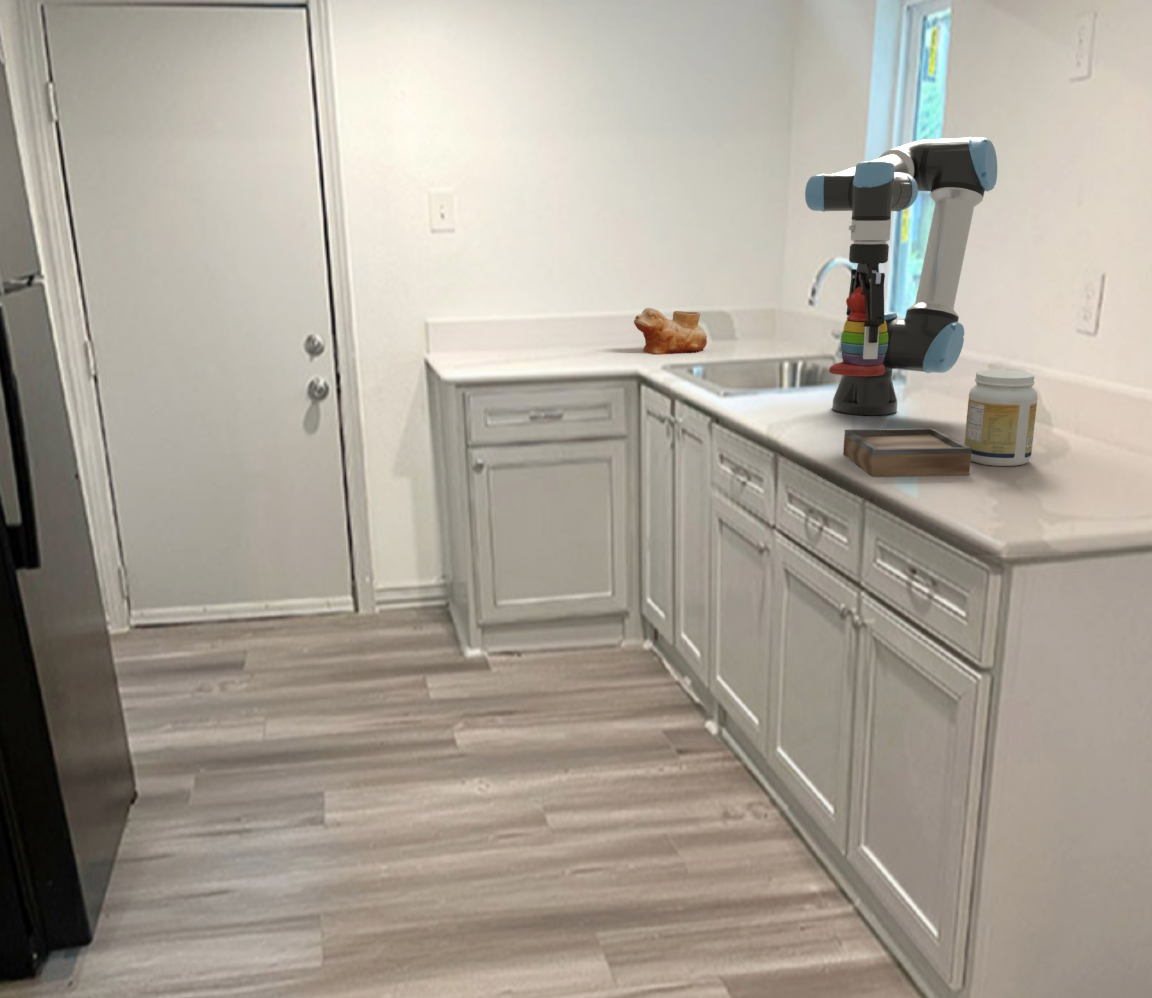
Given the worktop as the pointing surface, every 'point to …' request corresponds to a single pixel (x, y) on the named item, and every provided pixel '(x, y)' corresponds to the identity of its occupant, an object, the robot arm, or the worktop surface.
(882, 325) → the stacking bear
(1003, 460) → the supplement tub
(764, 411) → the worktop surface
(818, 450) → the worktop surface
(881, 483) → the worktop surface
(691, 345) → the ceramic vessel
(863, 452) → the square tray
